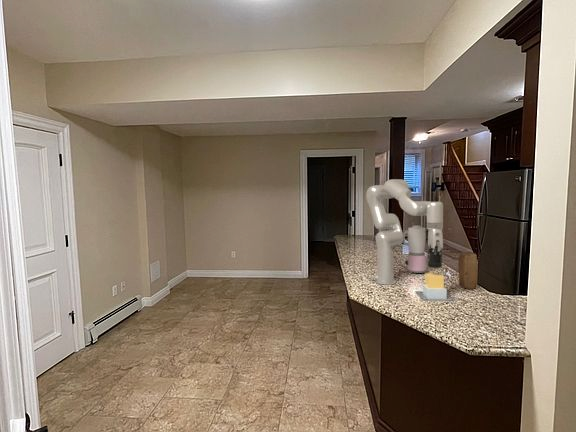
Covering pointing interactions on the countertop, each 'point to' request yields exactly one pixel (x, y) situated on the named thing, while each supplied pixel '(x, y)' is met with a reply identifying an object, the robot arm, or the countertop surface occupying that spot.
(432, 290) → the grey brick
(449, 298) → the building plate
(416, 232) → the blender
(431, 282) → the yellow cube
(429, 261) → the supplement bottle
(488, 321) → the countertop surface
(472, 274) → the block
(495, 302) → the countertop surface
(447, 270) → the countertop surface
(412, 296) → the countertop surface
